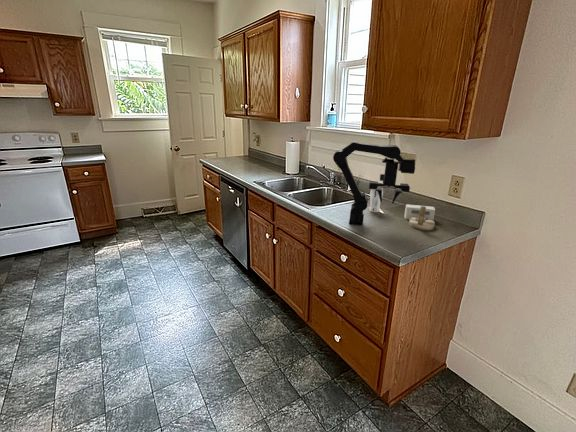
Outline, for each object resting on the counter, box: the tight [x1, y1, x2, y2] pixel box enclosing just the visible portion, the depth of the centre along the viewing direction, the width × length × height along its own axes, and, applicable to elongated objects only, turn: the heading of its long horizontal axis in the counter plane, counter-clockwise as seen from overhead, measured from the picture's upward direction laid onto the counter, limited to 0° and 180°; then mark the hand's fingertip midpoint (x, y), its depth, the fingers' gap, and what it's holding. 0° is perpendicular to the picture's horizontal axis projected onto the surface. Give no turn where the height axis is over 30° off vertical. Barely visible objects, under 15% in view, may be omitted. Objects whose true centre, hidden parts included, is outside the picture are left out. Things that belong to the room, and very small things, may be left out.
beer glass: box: [368, 188, 384, 214], centre depth 178 cm, size 7×7×15 cm
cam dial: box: [408, 205, 436, 231], centre depth 158 cm, size 12×12×12 cm
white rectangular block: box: [403, 203, 436, 221], centre depth 168 cm, size 14×6×7 cm, turn 77°
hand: (386, 203), depth 156 cm, fingers open, 5 cm apart
